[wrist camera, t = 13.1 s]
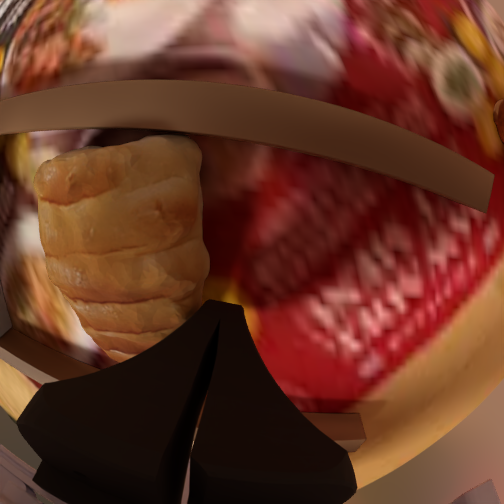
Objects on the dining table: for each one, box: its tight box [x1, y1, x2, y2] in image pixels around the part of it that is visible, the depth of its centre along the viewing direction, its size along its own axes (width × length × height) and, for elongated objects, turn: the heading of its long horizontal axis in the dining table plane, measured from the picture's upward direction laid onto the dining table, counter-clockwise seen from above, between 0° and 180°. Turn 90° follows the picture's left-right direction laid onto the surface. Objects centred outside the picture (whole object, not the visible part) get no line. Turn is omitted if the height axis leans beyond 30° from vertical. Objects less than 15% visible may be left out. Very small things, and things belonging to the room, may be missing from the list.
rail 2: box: [0, 328, 366, 452], centre depth 12 cm, size 2×26×2 cm, turn 80°
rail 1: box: [0, 80, 494, 213], centre depth 8 cm, size 2×26×2 cm, turn 80°
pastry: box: [34, 134, 210, 363], centre depth 9 cm, size 9×7×4 cm
